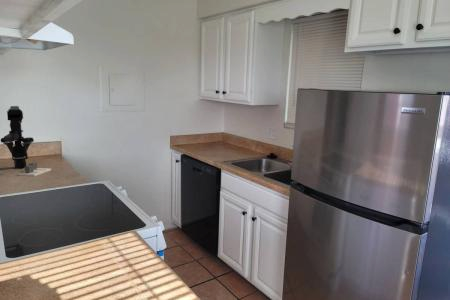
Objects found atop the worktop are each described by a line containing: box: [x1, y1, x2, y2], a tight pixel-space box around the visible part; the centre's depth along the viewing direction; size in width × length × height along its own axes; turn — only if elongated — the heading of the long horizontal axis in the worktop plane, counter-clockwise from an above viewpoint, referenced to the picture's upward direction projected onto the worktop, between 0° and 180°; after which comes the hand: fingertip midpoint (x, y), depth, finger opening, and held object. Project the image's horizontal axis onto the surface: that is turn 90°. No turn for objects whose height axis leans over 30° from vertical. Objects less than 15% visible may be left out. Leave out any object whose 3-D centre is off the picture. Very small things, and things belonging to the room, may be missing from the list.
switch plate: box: [16, 167, 52, 177], centre depth 216 cm, size 12×16×1 cm
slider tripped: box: [24, 164, 34, 173], centre depth 212 cm, size 3×4×4 cm
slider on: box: [28, 161, 38, 169], centre depth 220 cm, size 3×4×4 cm
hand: (18, 153), depth 211 cm, fingers open, 9 cm apart
